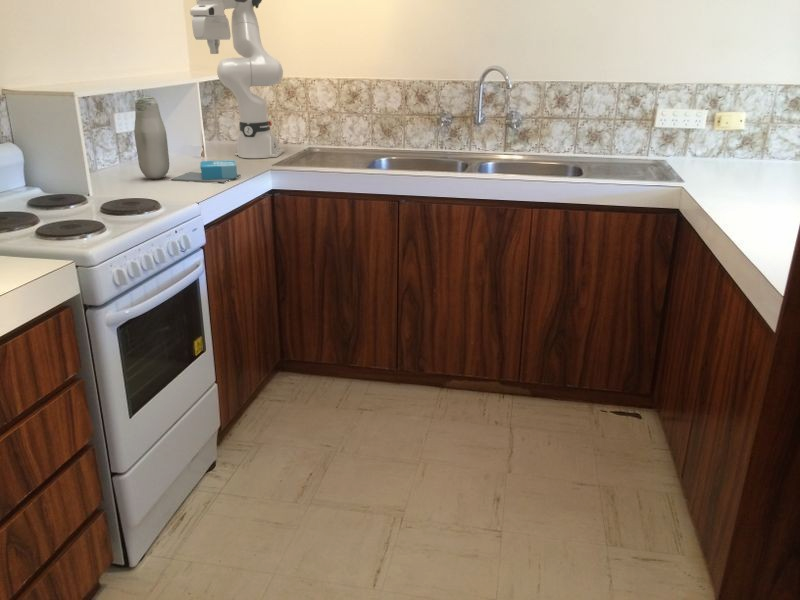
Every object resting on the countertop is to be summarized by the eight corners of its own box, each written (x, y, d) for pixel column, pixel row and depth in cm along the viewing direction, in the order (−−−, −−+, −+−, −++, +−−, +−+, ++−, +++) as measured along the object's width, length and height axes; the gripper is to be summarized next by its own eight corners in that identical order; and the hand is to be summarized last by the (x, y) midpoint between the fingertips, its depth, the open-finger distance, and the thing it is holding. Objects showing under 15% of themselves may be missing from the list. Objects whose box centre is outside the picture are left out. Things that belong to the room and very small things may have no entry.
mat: (190, 173, 246) (189, 172, 246) (240, 176, 242) (240, 174, 241) (170, 180, 234) (170, 178, 234) (223, 183, 230) (223, 181, 230)
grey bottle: (144, 175, 241) (133, 94, 231) (174, 175, 242) (164, 94, 232) (137, 181, 232) (125, 97, 222) (167, 181, 233) (157, 96, 223)
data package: (234, 159, 244) (236, 165, 233) (235, 172, 246) (237, 178, 235) (200, 161, 241) (200, 167, 230) (201, 173, 243) (202, 180, 232)
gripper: (216, 11, 239) (220, 53, 244) (187, 9, 220) (191, 54, 225) (233, 11, 238) (236, 53, 243) (204, 9, 219) (208, 54, 224)
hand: (214, 53), depth 234 cm, fingers closed
